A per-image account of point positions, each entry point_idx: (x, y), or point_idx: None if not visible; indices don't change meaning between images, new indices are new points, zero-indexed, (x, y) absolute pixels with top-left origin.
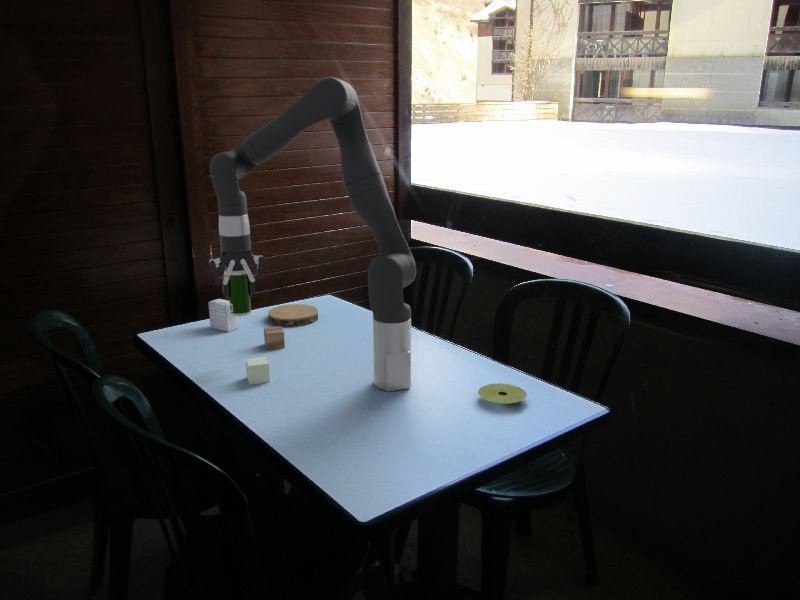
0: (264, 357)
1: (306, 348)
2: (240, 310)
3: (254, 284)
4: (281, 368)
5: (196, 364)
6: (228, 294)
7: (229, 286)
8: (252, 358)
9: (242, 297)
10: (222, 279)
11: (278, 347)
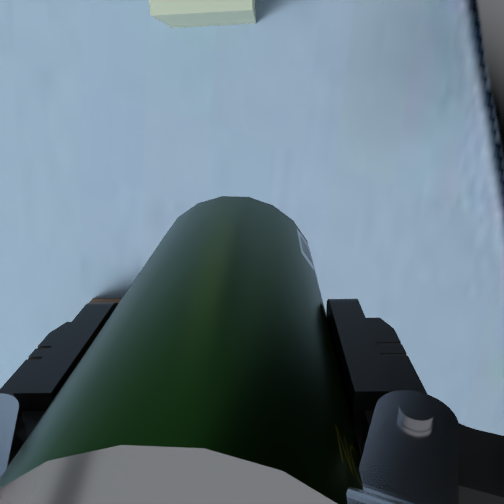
0: (156, 6)
1: (11, 268)
2: (238, 204)
3: (4, 387)
4: (108, 82)
5: (429, 234)
6: (342, 315)
7: (338, 372)
8: (217, 10)
9: (196, 244)
10: (469, 483)
11: (114, 300)
